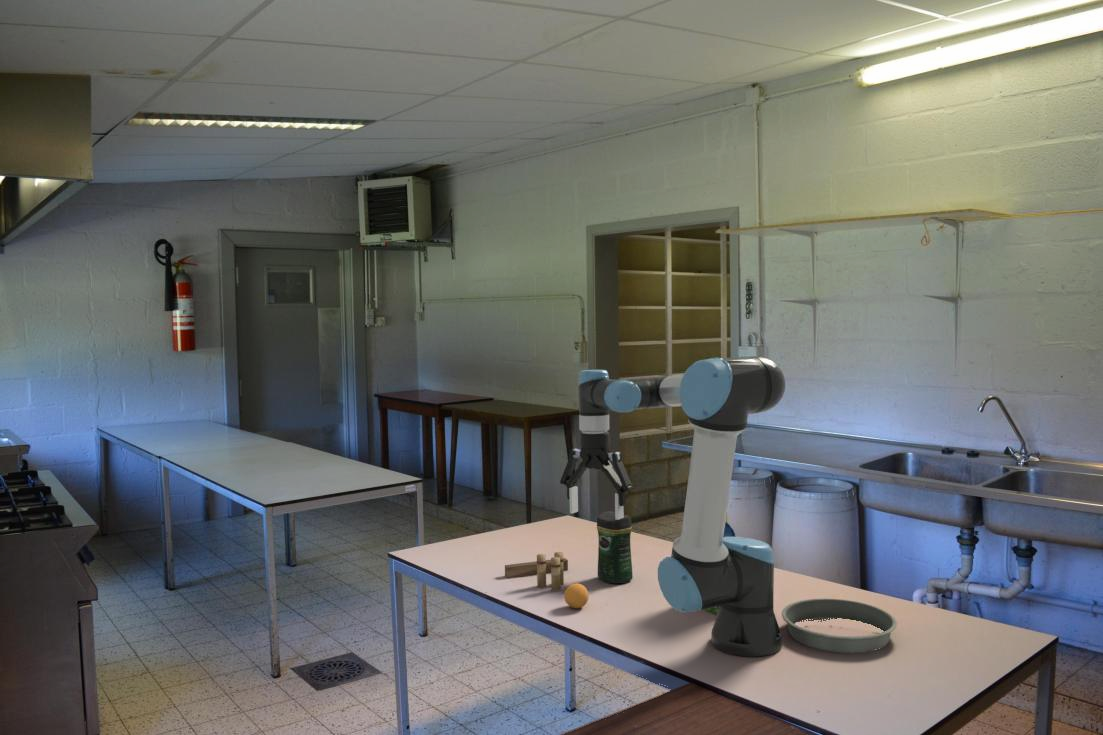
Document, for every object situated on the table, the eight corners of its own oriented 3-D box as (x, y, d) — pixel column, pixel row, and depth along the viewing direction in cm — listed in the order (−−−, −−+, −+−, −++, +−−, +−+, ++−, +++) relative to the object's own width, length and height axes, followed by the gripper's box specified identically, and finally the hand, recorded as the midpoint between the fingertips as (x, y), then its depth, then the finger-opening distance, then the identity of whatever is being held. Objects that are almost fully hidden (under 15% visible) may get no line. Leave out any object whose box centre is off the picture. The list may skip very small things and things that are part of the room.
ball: (592, 609, 213) (592, 586, 212) (569, 613, 211) (569, 589, 210) (583, 602, 218) (582, 579, 218) (561, 605, 216) (560, 582, 216)
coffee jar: (637, 580, 235) (636, 513, 234) (615, 586, 230) (614, 518, 229) (614, 572, 243) (613, 507, 242) (592, 578, 238) (591, 511, 237)
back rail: (567, 570, 246) (567, 560, 245) (507, 578, 239) (507, 567, 239) (564, 568, 248) (564, 557, 248) (505, 575, 242) (504, 565, 242)
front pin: (562, 590, 228) (561, 559, 227) (553, 591, 227) (552, 560, 226) (558, 587, 230) (558, 556, 230) (550, 589, 229) (549, 557, 229)
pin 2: (565, 584, 233) (564, 553, 232) (556, 585, 232) (555, 554, 231) (562, 582, 235) (561, 551, 235) (553, 583, 234) (552, 552, 234)
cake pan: (760, 625, 201) (760, 606, 201) (845, 610, 210) (845, 592, 209) (828, 665, 178) (828, 643, 178) (922, 646, 187) (922, 626, 187)
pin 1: (547, 587, 231) (547, 555, 230) (539, 588, 230) (538, 556, 230) (544, 584, 233) (544, 553, 233) (535, 585, 233) (535, 554, 232)
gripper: (645, 432, 211) (647, 518, 212) (562, 427, 226) (564, 507, 227) (630, 436, 205) (631, 524, 206) (545, 430, 219) (547, 512, 221)
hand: (596, 515), depth 216 cm, fingers open, 13 cm apart
